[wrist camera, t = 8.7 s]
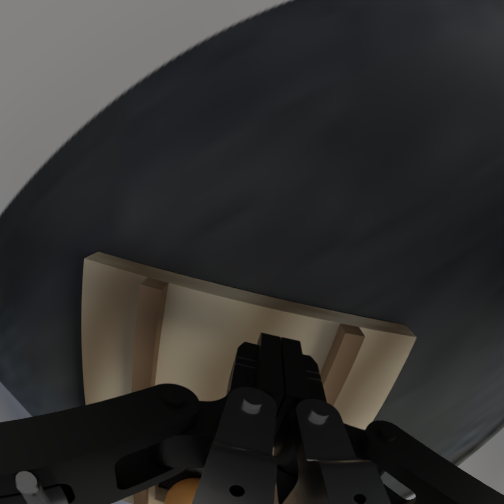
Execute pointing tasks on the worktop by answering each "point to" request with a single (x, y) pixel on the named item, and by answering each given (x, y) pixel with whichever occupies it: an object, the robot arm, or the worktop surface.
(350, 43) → the worktop surface
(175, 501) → the ball
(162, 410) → the robot arm
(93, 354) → the beige tray
